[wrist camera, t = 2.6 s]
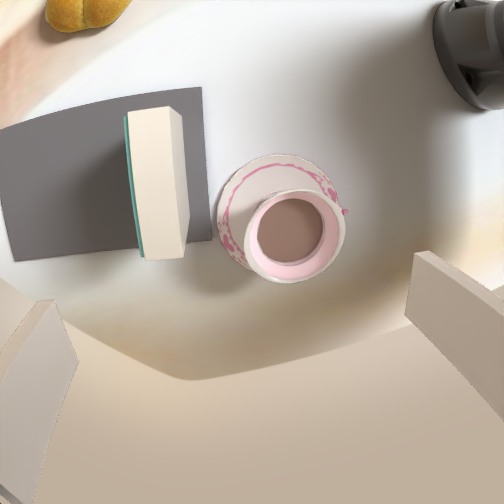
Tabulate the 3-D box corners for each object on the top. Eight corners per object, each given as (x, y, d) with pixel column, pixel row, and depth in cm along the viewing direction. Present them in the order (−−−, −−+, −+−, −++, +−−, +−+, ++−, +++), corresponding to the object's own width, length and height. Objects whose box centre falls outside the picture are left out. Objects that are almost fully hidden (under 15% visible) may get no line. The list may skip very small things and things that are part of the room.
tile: (151, 119, 25) (122, 112, 15) (182, 116, 25) (169, 106, 16) (160, 218, 28) (140, 261, 19) (190, 215, 28) (183, 257, 19)
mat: (-5, 132, 22) (-8, 132, 22) (201, 87, 25) (201, 86, 24) (17, 259, 27) (14, 261, 27) (212, 238, 30) (212, 240, 29)
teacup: (246, 291, 33) (256, 325, 27) (194, 186, 28) (191, 199, 22) (350, 243, 33) (378, 267, 27) (313, 134, 28) (339, 136, 22)
